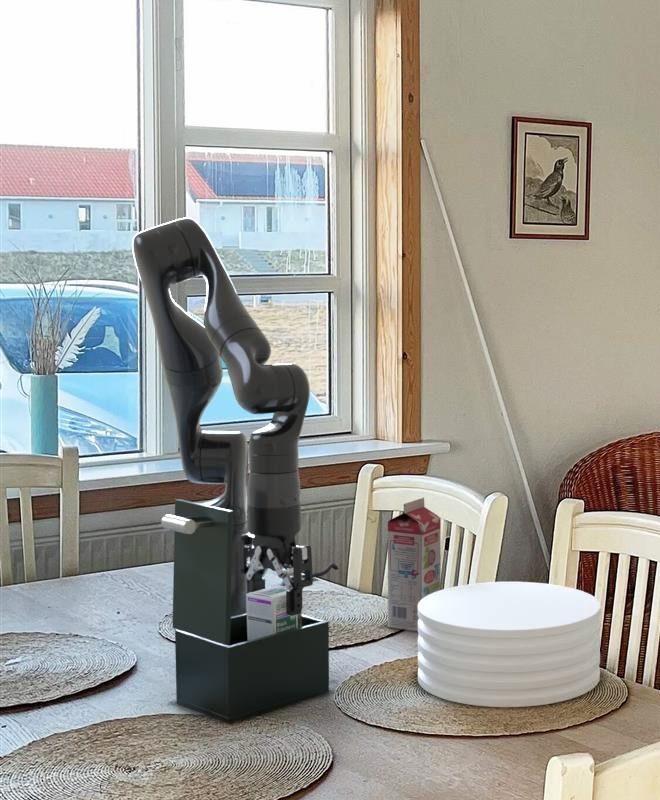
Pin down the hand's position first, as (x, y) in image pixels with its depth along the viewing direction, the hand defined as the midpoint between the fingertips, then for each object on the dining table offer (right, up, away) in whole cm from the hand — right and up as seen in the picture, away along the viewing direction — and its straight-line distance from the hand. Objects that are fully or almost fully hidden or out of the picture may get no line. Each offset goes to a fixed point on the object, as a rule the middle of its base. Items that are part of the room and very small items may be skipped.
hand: (275, 609), depth 199 cm
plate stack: (+34, -12, +10) cm, 37 cm away
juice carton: (+15, -9, +38) cm, 41 cm away
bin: (-3, -13, -2) cm, 13 cm away
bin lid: (-7, +7, -10) cm, 14 cm away
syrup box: (0, -12, +1) cm, 12 cm away
